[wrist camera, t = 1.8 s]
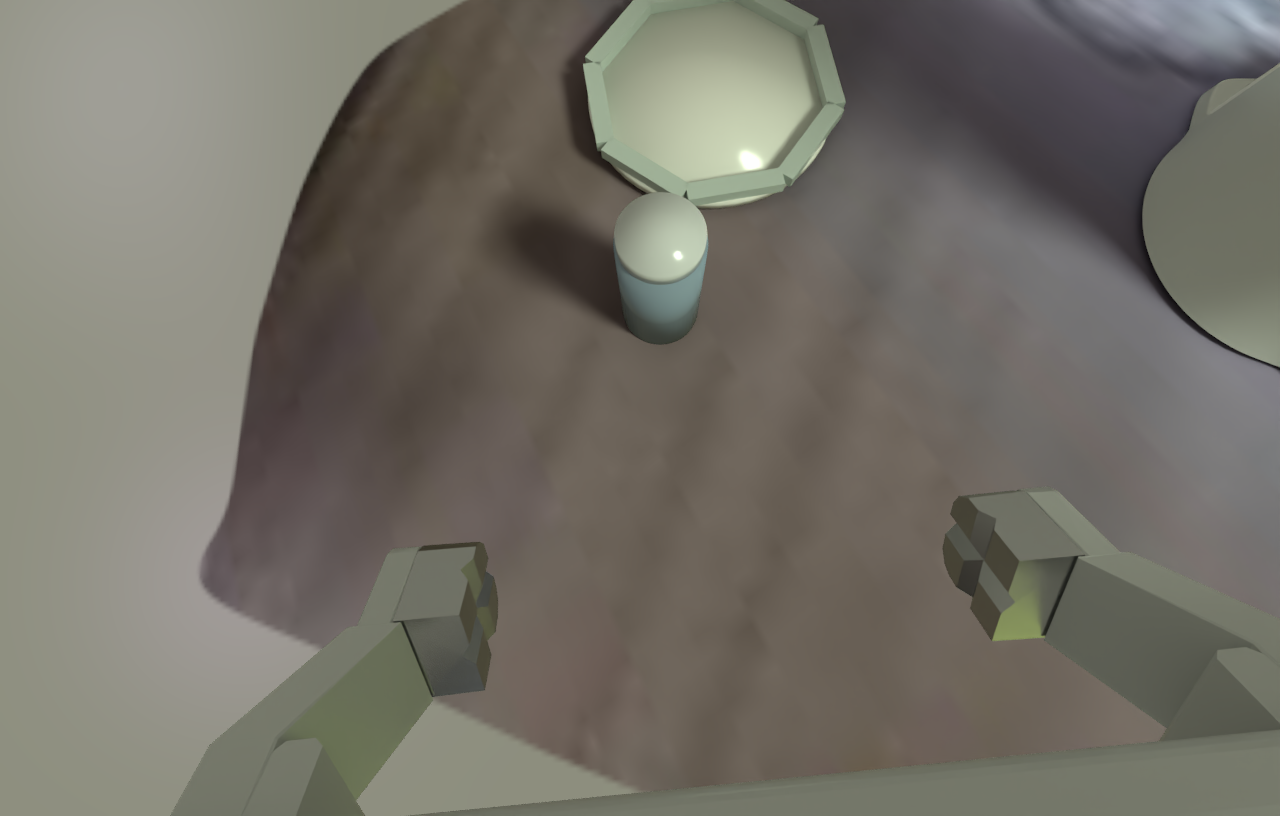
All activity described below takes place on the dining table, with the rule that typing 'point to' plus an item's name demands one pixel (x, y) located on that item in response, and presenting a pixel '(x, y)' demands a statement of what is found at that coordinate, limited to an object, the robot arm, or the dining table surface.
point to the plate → (713, 97)
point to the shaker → (660, 265)
